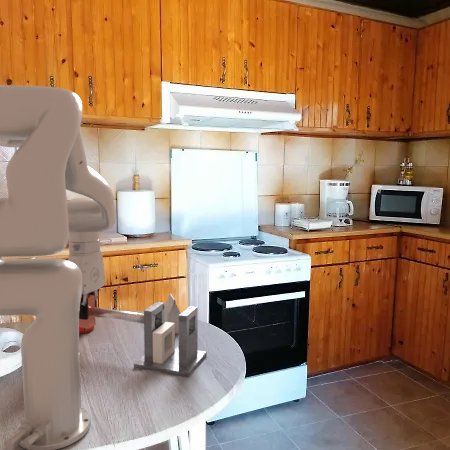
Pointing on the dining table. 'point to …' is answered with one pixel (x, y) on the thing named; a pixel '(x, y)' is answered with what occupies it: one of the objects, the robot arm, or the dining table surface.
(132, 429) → the dining table surface
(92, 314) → the shaft
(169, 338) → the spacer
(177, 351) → the bearing block
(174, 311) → the grey pointed block
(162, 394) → the dining table surface
